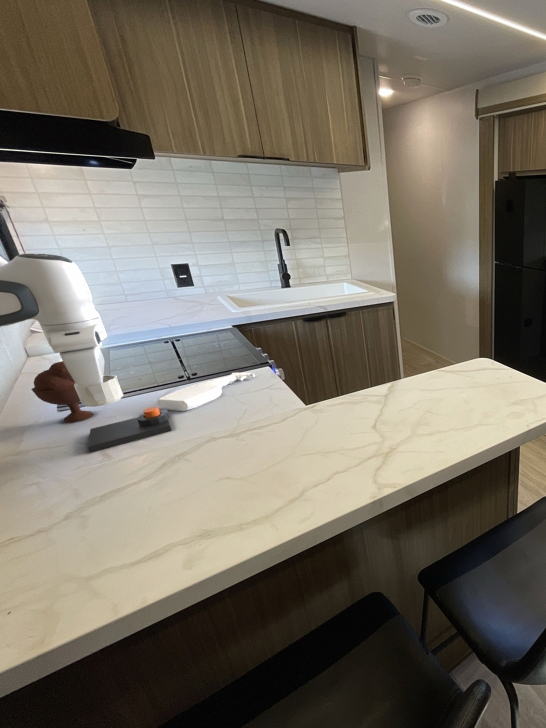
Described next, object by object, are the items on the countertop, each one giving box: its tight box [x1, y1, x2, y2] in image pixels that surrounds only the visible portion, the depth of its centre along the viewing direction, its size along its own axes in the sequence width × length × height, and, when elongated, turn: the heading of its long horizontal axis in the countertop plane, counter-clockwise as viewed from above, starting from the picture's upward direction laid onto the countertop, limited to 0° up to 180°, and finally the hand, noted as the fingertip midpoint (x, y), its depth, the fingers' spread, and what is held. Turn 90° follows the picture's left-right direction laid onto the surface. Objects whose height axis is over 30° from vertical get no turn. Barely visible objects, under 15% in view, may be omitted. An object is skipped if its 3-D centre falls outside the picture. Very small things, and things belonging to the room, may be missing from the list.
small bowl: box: [74, 374, 124, 408], centre depth 89 cm, size 7×7×5 cm
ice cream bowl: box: [31, 360, 95, 424], centre depth 100 cm, size 11×11×15 cm
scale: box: [87, 409, 172, 453], centre depth 94 cm, size 14×11×3 cm
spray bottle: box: [157, 372, 256, 412], centre depth 116 cm, size 3×11×24 cm
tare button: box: [142, 406, 160, 418], centre depth 96 cm, size 3×3×2 cm
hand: (101, 394), depth 89 cm, fingers closed on small bowl, 7 cm apart
